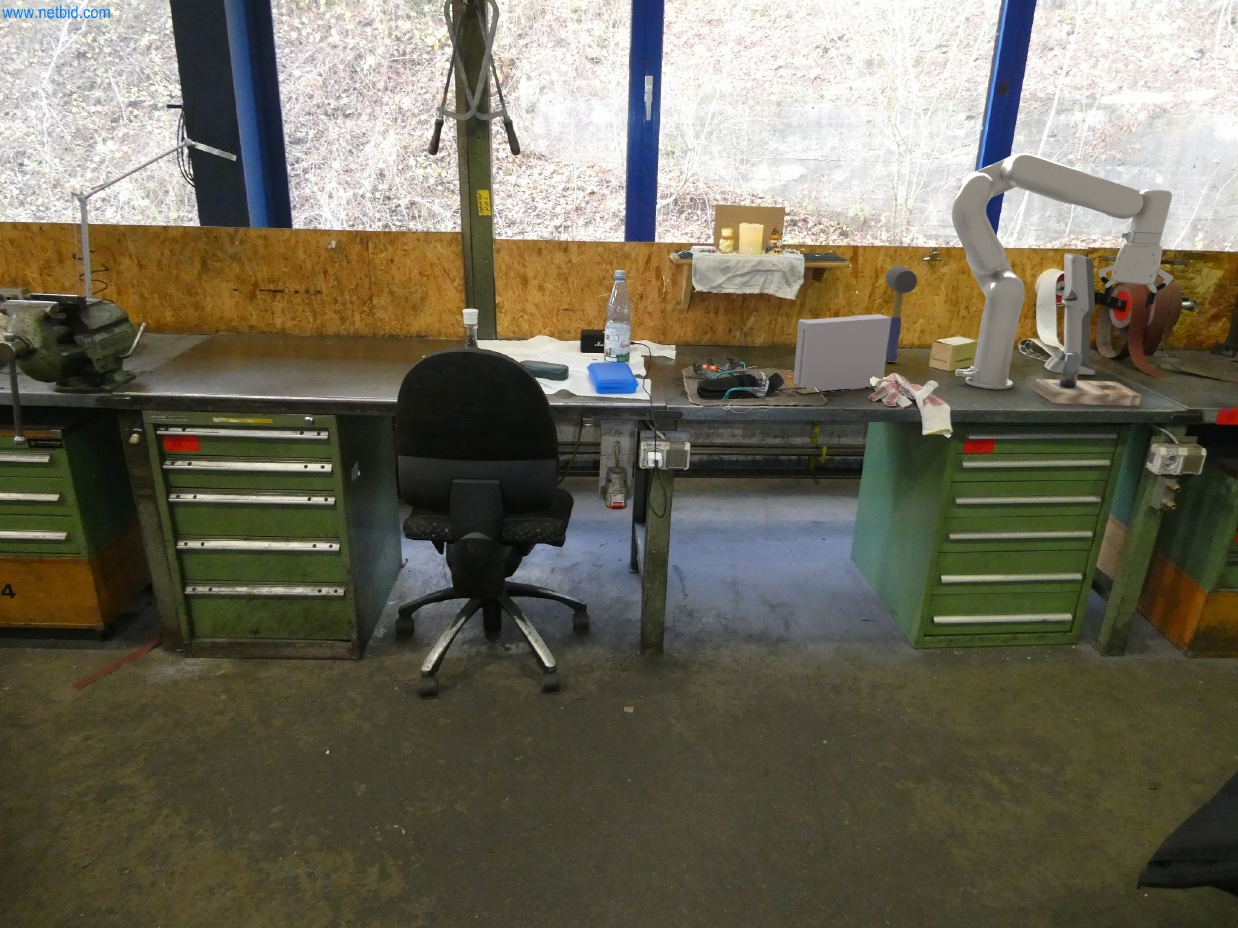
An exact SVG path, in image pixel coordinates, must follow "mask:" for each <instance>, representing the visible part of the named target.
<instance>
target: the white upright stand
mask: <svg viewBox="0 0 1238 928" xmlns="http://www.w3.org/2000/svg"><path fill="white" fill-rule="evenodd" d="M1063 261H1064V264H1063V265H1064V275H1063V276H1064V290H1063V293H1062V295H1061V303H1062V304H1064V306H1065V307H1064V321H1063V322H1064V323H1063V350H1058V351H1057V352H1055V353H1054V354H1053V355H1051V356H1050V357H1049V358H1048V359H1047V360H1046V361H1045V364H1043V367H1044V368H1045V369H1046V370H1047V371H1048V372H1051V373H1055V374H1062V370H1063V365H1064V360H1065V355H1066V353H1067V352H1075V353H1080V354H1083V355H1082V360H1081V364H1080V369H1079V374H1078V376H1080V375H1081V376H1094V375H1096V370H1095V369H1096V368H1095V367H1094V366H1093V365H1091V364H1090V356H1091V355H1090V354H1091V353H1090V351H1091V318H1092V315H1093V314H1094V313H1095V308H1096V306H1095V305H1096V304H1095V295H1096V294H1095V269H1094V268H1095V265H1094V261H1093V259H1092V258H1090V257H1087V256H1084V255H1082V254H1077V253H1071V252H1070V253H1069V252H1066V253H1064V257H1063Z"/></svg>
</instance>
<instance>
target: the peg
mask: <svg viewBox="0 0 1238 928" xmlns="http://www.w3.org/2000/svg"><path fill="white" fill-rule="evenodd" d="M1082 355H1083V354H1080V353H1075V352H1067V353H1066V355H1065V360H1064V365H1063V370H1062V374H1061V373H1060V374H1061V375H1060V379H1059V380H1060V384H1059V385H1060V386H1062V387H1067V388H1075V387H1076V383H1077V380H1078V377H1079V369H1080V364H1081V360H1082Z"/></svg>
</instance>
